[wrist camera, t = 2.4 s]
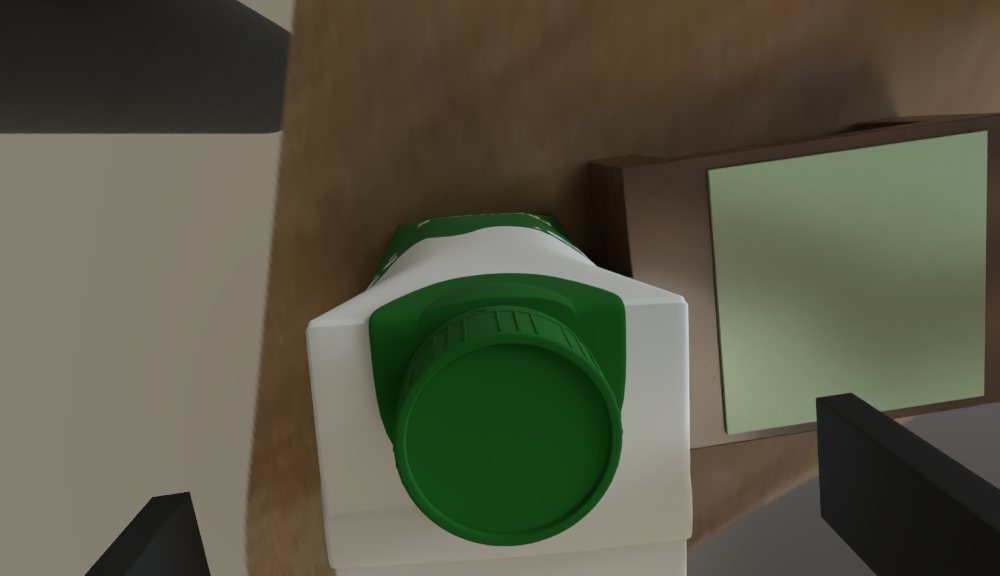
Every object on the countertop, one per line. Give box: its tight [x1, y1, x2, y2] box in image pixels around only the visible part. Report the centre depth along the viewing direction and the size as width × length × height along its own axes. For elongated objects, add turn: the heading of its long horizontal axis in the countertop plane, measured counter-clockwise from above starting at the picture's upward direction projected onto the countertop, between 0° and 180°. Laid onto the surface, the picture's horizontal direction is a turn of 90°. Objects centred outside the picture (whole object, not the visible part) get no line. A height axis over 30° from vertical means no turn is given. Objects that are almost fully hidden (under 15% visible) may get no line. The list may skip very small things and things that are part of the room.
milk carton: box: [305, 213, 693, 576], centre depth 22 cm, size 9×9×20 cm
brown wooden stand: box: [588, 113, 1000, 450], centre depth 29 cm, size 11×14×7 cm
